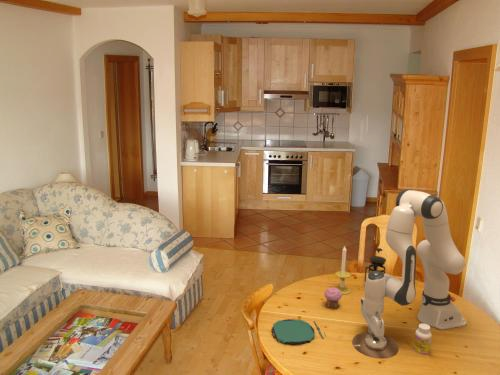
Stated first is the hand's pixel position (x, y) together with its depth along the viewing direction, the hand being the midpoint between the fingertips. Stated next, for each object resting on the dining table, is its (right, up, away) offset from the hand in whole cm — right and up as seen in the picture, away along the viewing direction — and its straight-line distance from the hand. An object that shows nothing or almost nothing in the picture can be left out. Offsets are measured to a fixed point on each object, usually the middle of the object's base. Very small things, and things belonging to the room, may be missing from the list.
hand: (371, 334), depth 207 cm
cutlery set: (-30, -2, +7) cm, 31 cm away
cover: (+1, -3, -5) cm, 6 cm away
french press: (+16, +10, +53) cm, 57 cm away
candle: (-3, +9, +49) cm, 50 cm away
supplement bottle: (+20, -6, -8) cm, 22 cm away
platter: (+1, -4, -5) cm, 6 cm away
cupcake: (-12, +5, +31) cm, 34 cm away
